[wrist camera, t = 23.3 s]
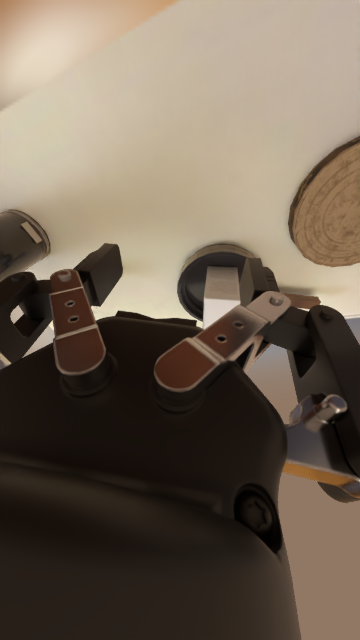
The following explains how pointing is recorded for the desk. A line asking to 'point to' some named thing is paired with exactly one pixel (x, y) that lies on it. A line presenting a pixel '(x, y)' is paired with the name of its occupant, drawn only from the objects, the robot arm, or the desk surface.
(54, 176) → the desk surface
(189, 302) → the pan
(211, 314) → the small box
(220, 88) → the desk surface
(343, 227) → the wood slice
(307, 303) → the pan handle
